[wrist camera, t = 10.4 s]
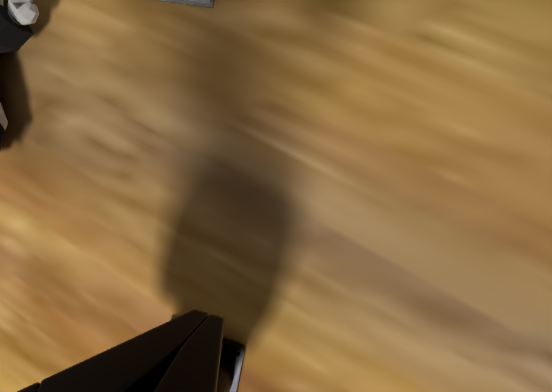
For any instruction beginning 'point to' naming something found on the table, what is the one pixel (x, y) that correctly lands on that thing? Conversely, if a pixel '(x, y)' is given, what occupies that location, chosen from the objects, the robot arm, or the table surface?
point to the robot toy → (14, 35)
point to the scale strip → (194, 2)
